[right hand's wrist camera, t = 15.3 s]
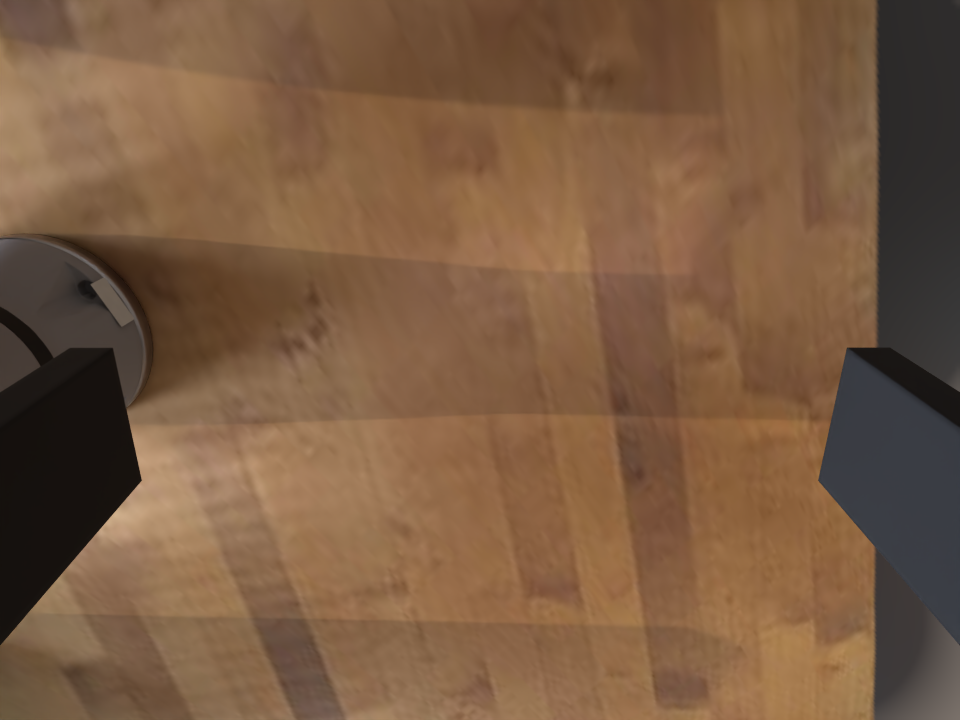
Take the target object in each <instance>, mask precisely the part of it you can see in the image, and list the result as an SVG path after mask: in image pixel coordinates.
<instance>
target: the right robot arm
mask: <svg viewBox="0 0 960 720" xmlns="http://www.w3.org/2000/svg"><path fill="white" fill-rule="evenodd" d="M152 356H153V347H152V338H151V332H150V328H149V325H148V322H147V319H146V316H145V314H144V312H143V309H142V307H141V305H140V304H139V302H138V300H137V298H136V297H135V295H134V294H133V292H132V291H131V289H130V288H129V287H128V286H127V284H126V283H125V282H124V281H123V280H122V279H121V278H120V277H119V275H118V274H117V273H116V272H115V271H113V270H112V269H111V268H110V267H109V266H108V265H107V264H105V263H104V262H103V261H101V260H100V259H99V258H97V257H96V256H94V255H93V254H91V253H89V252H88V251H86V250H84V249H82V248H80V247H78V246H76V245H74V244H71V243H69V242H66V241H63V240H60V239H57V238H53V237H49V236H44V235H37V234H12V235H6V236H1V237H0V645H1V644H2V643H3V641H4V640H5V639H6V638H7V637H8V636H9V634H10V633H11V632H12V631H13V630H14V629H15V627H16V626H17V625H18V624H19V623H20V622H21V620H22V619H23V618H24V617H25V616H26V615H27V614H28V612H29V611H30V610H31V609H32V608H33V607H34V605H35V604H36V603H37V602H38V601H39V600H40V598H41V597H42V596H43V595H44V594H45V593H46V591H47V590H48V589H49V588H50V587H51V586H52V584H53V583H54V582H55V581H56V580H57V579H58V577H59V576H60V575H61V574H62V573H63V572H64V570H65V569H66V568H67V567H68V566H69V565H70V563H71V562H72V561H73V560H74V559H75V558H76V556H77V555H78V554H79V553H80V552H81V551H82V549H83V548H84V547H85V546H86V545H87V544H88V542H89V541H90V540H91V539H92V538H93V537H94V535H95V534H96V533H97V532H98V531H99V530H100V529H101V527H102V526H103V525H104V524H105V523H106V522H107V520H108V519H109V518H110V517H111V516H112V515H113V513H114V512H115V511H116V510H117V509H118V508H119V506H120V505H121V504H122V503H123V502H124V501H125V499H126V498H127V497H128V496H129V495H130V494H131V492H132V491H133V490H134V489H135V488H136V487H137V485H138V484H139V483H140V482H141V481H142V479H141V475H140V470H139V466H138V461H137V456H136V452H135V447H134V443H133V438H132V433H131V429H130V424H129V420H128V415H127V410H126V408H127V407H128V406H129V405H130V404H131V403H132V402H133V401H134V400H135V399H136V398H137V397H138V395H139V394H140V393H141V391H142V389H143V388H144V386H145V384H146V382H147V379H148V377H149V373H150V370H151V365H152ZM818 481H819V482H820V483H821V484H822V485H823V487H824V488H825V489H826V490H827V491H828V492H829V494H830V495H831V496H832V497H833V498H834V499H835V501H836V502H837V503H838V504H839V505H840V506H841V508H842V509H843V510H844V511H845V512H846V513H847V515H848V516H849V517H850V518H851V519H852V520H853V522H854V523H855V524H856V525H857V526H858V527H859V529H860V530H861V531H862V532H863V533H864V534H865V536H866V537H867V538H868V539H869V540H870V541H871V542H872V544H873V545H874V546H875V547H876V548H877V549H878V551H879V552H880V553H881V554H882V555H883V556H884V558H885V559H886V560H887V561H888V562H889V563H890V565H891V566H892V567H893V568H894V569H895V570H896V572H897V573H898V574H899V575H900V576H901V577H902V579H903V580H904V581H905V582H906V583H907V584H908V586H909V587H910V588H911V589H912V590H913V591H914V593H915V594H916V595H917V596H918V597H919V598H920V600H921V601H922V602H923V603H924V604H925V605H926V607H927V608H928V609H929V610H930V611H931V612H932V614H933V615H934V616H935V617H936V618H937V619H938V620H939V622H940V623H941V624H942V625H943V626H944V627H945V629H946V630H947V631H948V632H949V633H950V634H951V636H952V637H953V638H954V639H955V640H956V641H957V643H958V644H959V645H960V392H959V391H957V390H955V389H954V388H952V387H951V386H949V385H948V384H946V383H944V382H943V381H941V380H940V379H938V378H937V377H935V376H933V375H932V374H930V373H929V372H927V371H926V370H924V369H922V368H921V367H919V366H918V365H916V364H915V363H913V362H911V361H910V360H908V359H907V358H905V357H904V356H902V355H900V354H899V353H897V352H896V351H894V350H893V349H891V348H847V350H846V355H845V360H844V364H843V369H842V373H841V378H840V383H839V387H838V392H837V396H836V401H835V406H834V410H833V415H832V419H831V424H830V429H829V433H828V438H827V443H826V447H825V452H824V456H823V461H822V466H821V470H820V475H819V479H818Z"/></svg>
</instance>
